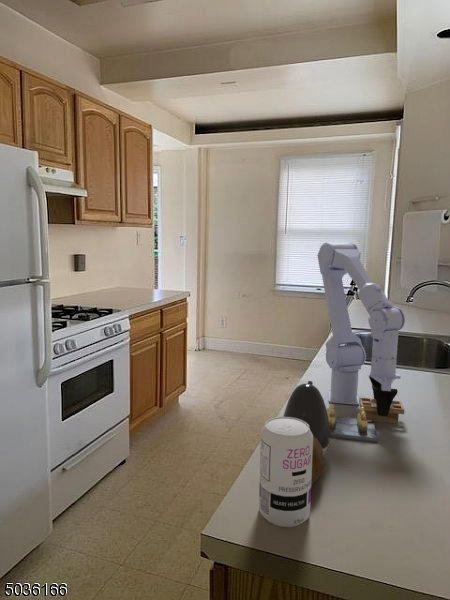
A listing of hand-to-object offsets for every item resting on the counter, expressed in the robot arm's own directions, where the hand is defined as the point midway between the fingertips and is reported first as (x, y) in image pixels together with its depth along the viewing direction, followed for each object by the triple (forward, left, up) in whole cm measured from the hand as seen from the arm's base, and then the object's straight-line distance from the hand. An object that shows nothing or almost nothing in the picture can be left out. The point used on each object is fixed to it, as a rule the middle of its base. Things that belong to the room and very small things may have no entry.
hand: (380, 409), depth 108 cm
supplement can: (+44, -20, -3) cm, 48 cm away
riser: (0, 0, -3) cm, 3 cm away
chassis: (+8, -9, -3) cm, 12 cm away
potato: (+33, -18, -3) cm, 38 cm away
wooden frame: (0, 0, 0) cm, 0 cm away
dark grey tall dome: (+23, -17, -3) cm, 29 cm away
